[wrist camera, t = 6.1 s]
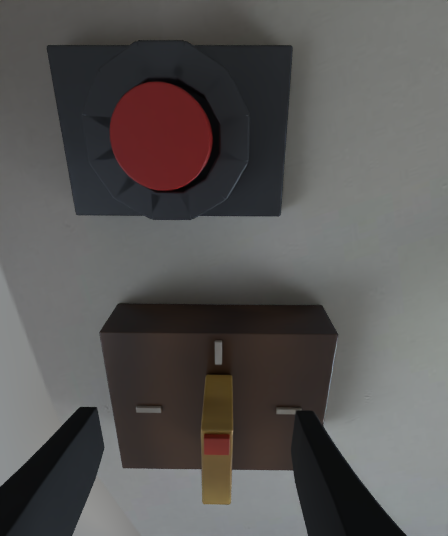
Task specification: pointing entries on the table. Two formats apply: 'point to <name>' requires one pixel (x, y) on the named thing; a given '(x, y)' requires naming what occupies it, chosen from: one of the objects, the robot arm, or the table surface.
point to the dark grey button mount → (210, 99)
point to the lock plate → (214, 363)
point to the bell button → (160, 136)
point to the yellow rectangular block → (217, 440)
